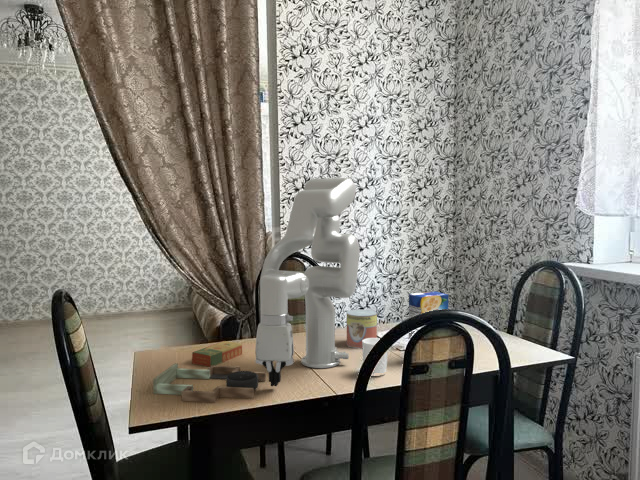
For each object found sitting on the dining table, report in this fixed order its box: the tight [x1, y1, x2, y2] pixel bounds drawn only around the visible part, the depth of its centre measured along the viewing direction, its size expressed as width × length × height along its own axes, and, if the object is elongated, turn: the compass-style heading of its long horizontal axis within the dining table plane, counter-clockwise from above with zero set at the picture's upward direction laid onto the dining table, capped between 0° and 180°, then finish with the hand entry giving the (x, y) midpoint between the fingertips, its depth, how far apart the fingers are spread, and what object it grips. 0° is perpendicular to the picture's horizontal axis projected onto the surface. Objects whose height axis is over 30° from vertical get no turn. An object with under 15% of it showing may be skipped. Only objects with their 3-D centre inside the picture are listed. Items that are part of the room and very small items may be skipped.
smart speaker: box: [225, 370, 259, 391], centre depth 141 cm, size 9×9×4 cm
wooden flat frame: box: [152, 363, 267, 403], centre depth 142 cm, size 28×22×4 cm
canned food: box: [345, 308, 378, 349], centre depth 186 cm, size 11×11×12 cm
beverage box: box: [408, 291, 449, 339], centre depth 166 cm, size 7×11×22 cm, turn 116°
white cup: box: [362, 337, 389, 374], centre depth 153 cm, size 8×8×10 cm
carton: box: [191, 340, 243, 368], centre depth 169 cm, size 8×16×4 cm, turn 150°
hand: (274, 384), depth 139 cm, fingers closed
